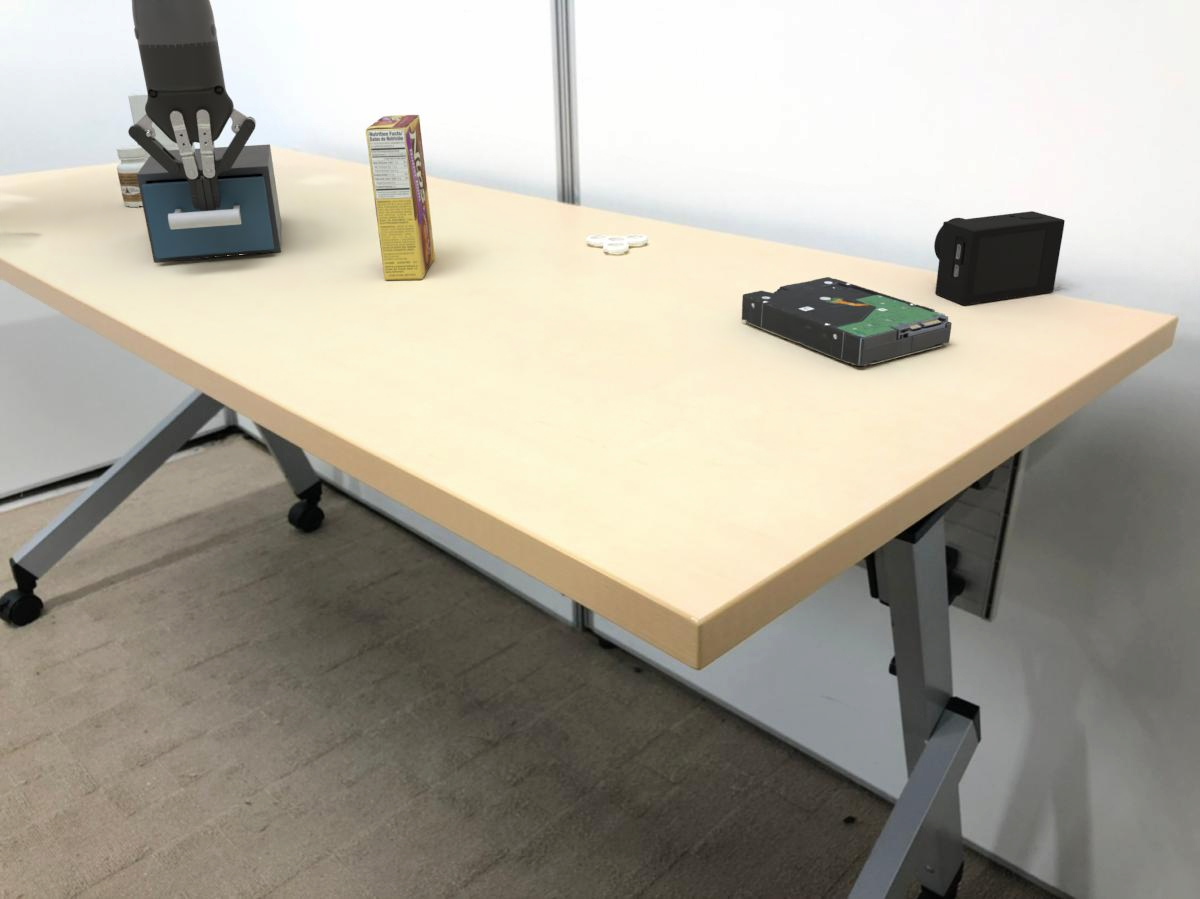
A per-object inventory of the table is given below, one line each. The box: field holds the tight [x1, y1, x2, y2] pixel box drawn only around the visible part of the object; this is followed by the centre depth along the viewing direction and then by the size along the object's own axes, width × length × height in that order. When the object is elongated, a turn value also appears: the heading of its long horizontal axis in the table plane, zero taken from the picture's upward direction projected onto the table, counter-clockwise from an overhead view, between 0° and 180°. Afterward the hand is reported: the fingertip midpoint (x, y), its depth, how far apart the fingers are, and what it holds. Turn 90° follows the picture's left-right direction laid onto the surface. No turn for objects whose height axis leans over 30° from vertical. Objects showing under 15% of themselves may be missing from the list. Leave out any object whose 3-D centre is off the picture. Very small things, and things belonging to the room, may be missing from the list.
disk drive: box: [741, 276, 953, 367], centre depth 90 cm, size 10×3×15 cm
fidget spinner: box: [585, 233, 649, 254], centre depth 120 cm, size 7×6×1 cm
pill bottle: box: [116, 144, 146, 208], centre depth 146 cm, size 4×4×8 cm
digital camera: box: [933, 210, 1066, 306], centre depth 99 cm, size 10×5×7 cm, turn 111°
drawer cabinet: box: [137, 144, 282, 263], centre depth 124 cm, size 17×14×10 cm
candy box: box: [365, 114, 436, 281], centre depth 109 cm, size 9×4×15 cm, turn 179°
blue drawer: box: [142, 174, 274, 258], centre depth 119 cm, size 21×12×8 cm, turn 15°
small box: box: [128, 89, 179, 161], centre depth 162 cm, size 8×6×13 cm
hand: (208, 212), depth 113 cm, fingers closed
